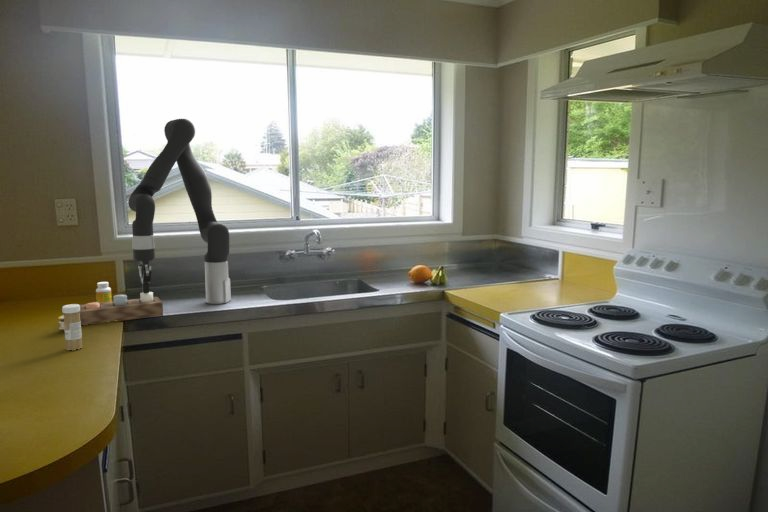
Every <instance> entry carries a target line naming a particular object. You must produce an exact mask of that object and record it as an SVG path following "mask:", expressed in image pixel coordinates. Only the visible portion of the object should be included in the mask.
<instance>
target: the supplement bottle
mask: <svg viewBox="0 0 768 512" xmlns="http://www.w3.org/2000/svg"><path fill="white" fill-rule="evenodd" d="M96 286H97V288H96V289H95V298H96V302H99V303H103V302H112V301H113V299H112V297H113V296H112V288H111V287H110V286H109V282H108V281H100V282H97V283H96Z"/></svg>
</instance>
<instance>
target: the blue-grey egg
mask: <svg viewBox="0 0 768 512" xmlns="http://www.w3.org/2000/svg"><path fill="white" fill-rule="evenodd" d="M112 297H113V301H114V306H119V305H127V300H128V296H127V294H116V295H113V296H112Z"/></svg>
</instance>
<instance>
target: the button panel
mask: <svg viewBox="0 0 768 512" xmlns="http://www.w3.org/2000/svg"><path fill="white" fill-rule="evenodd" d="M86 304H87V303H85V304H79V305H80V321H81V325H83V326H89V325H88V324H91V325H97V324H96V323H99V324H103V323H102V322H107V323H109V322H108V321H115V320H120V321H129V320H138V319H145V318H152V317H153V318H154V317H160V316H164V306H163V305H164V304H163V301H162V300H161V299H160V298H159V297H158V296H153V302H146V303H141V300H140V298H133V299H127V305H119V306H114V300H112V302H103V303H100V308H92V309H86ZM120 321H119V322H120ZM115 322H116V321H115Z"/></svg>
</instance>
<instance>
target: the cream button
mask: <svg viewBox="0 0 768 512" xmlns="http://www.w3.org/2000/svg"><path fill="white" fill-rule="evenodd" d="M139 295H140V296H139V297H140V298H139V299H140V300H141V303H146V302H153V297H154V291H153V292H152V291H150V292H149V293H143V292H140V294H139Z"/></svg>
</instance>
